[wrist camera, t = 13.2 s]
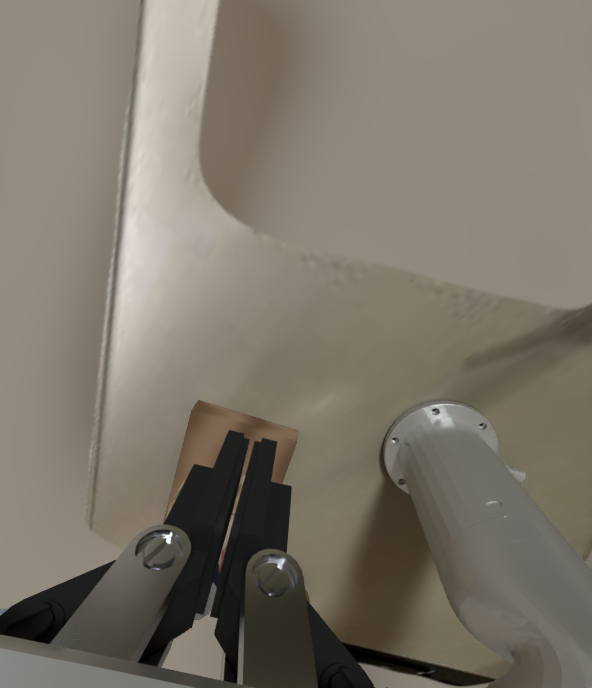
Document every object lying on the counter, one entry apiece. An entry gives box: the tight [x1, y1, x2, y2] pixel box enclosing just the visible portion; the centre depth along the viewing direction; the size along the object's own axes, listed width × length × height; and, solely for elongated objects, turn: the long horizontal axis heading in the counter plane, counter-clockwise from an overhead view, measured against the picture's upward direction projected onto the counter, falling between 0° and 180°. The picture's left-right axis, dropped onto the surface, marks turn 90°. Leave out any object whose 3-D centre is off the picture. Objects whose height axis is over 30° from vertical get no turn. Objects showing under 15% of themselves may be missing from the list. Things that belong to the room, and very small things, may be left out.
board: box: [163, 400, 298, 524], centre depth 42 cm, size 12×18×6 cm, turn 163°
